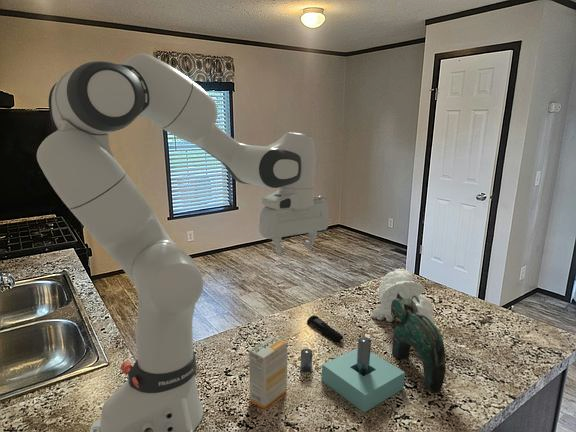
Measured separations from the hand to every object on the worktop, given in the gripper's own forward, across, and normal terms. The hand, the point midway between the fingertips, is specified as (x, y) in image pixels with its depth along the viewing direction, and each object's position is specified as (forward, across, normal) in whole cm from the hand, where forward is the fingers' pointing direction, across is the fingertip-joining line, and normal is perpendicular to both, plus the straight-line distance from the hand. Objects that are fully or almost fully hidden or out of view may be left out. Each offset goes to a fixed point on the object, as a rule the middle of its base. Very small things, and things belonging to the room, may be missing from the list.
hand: (294, 250), depth 102 cm
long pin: (+30, -6, +21) cm, 37 cm away
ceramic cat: (+30, -22, +24) cm, 45 cm away
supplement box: (+30, +15, +11) cm, 36 cm away
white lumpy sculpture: (+30, -42, +4) cm, 52 cm away
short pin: (+30, +1, +8) cm, 31 cm away
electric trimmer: (+30, -16, -4) cm, 35 cm away
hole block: (+30, -6, +21) cm, 37 cm away
